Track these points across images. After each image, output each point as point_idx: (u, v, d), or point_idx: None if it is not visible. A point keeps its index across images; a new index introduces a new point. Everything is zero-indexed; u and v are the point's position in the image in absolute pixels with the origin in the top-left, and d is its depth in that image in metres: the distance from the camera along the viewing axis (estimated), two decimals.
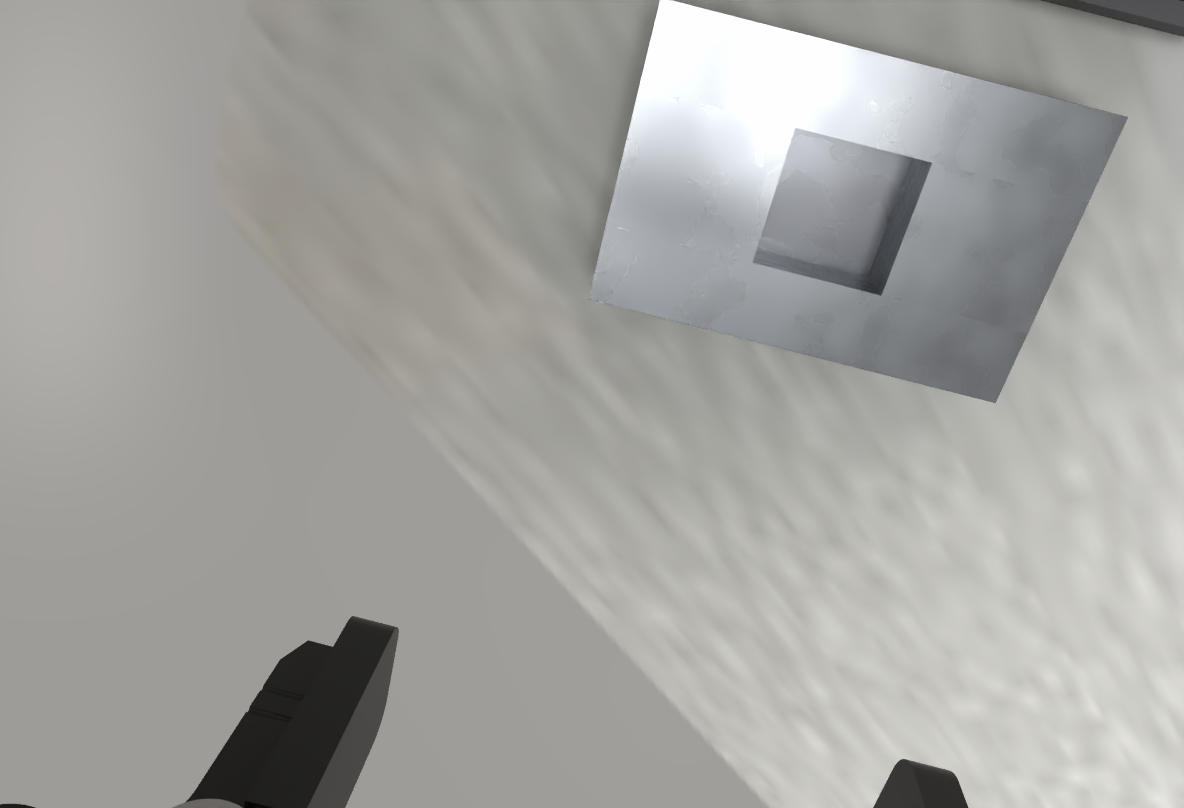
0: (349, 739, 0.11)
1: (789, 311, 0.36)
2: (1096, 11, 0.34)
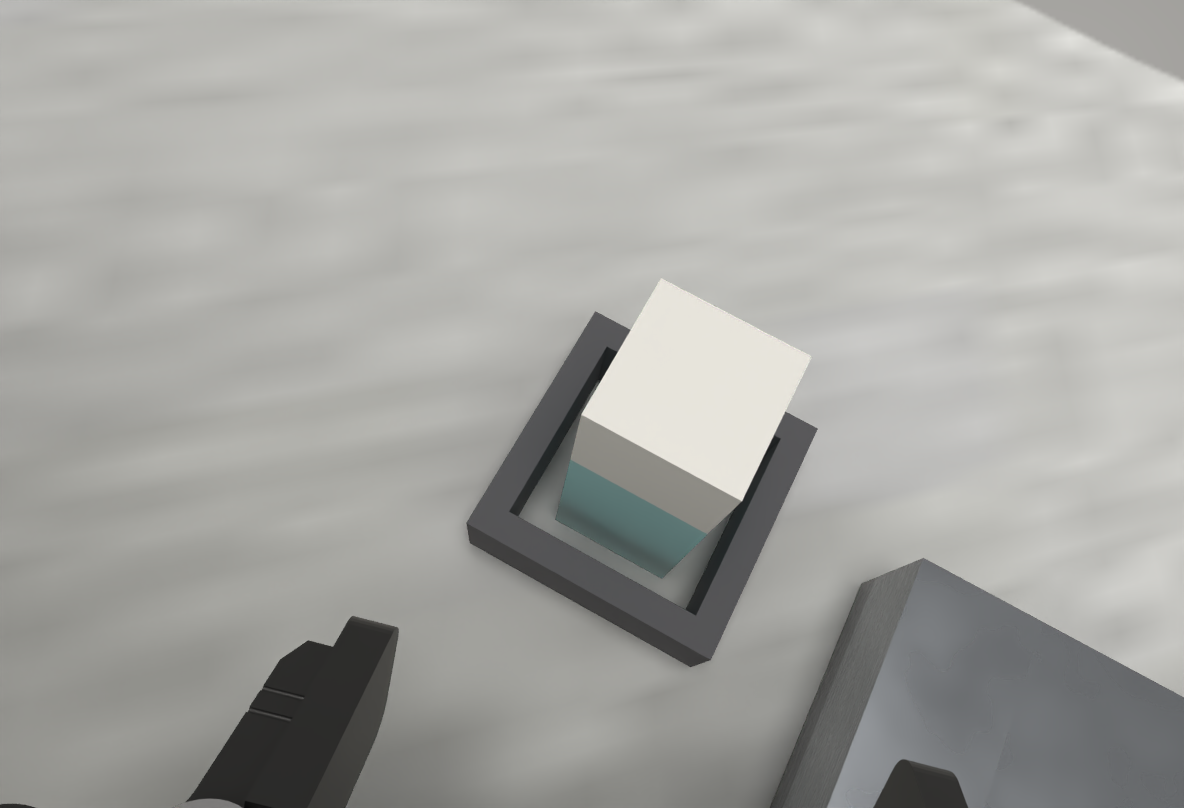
0: (349, 739, 0.11)
1: None
2: None
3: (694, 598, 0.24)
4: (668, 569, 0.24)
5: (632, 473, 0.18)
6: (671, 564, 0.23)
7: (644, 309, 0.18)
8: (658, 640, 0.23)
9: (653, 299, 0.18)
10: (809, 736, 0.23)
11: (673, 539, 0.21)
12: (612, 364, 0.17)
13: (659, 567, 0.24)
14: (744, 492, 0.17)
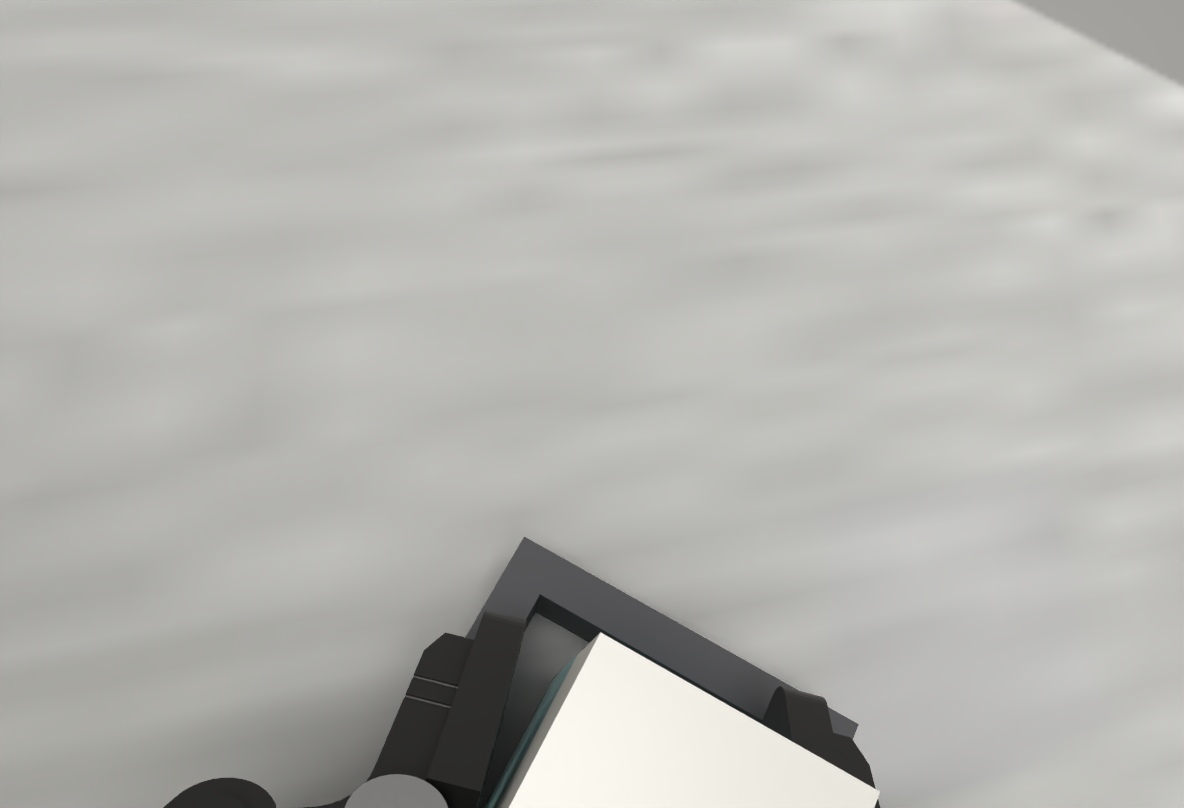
0: (498, 723, 0.12)
1: None
2: None
3: None
4: None
5: None
6: None
7: (567, 702, 0.10)
8: None
9: (585, 679, 0.10)
10: None
11: None
12: None
13: None
14: None
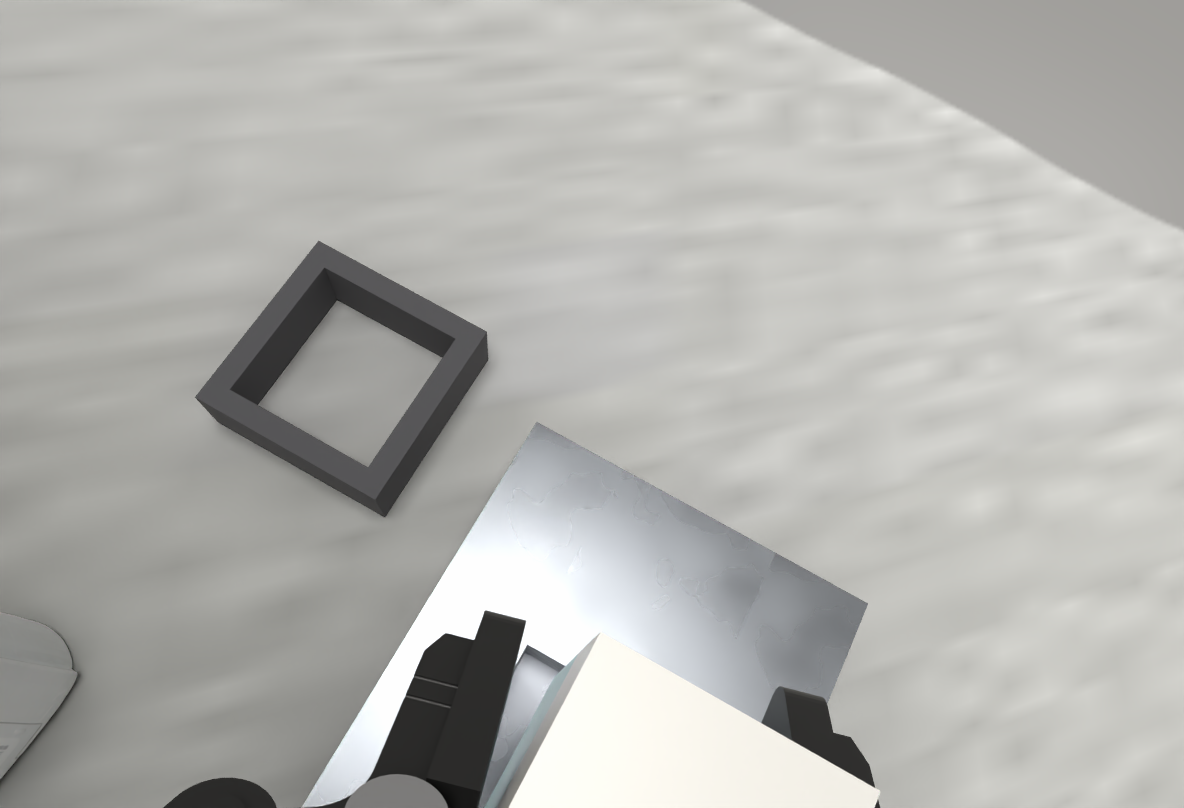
0: (498, 724, 0.12)
1: None
2: (430, 437, 0.31)
3: None
4: None
5: None
6: None
7: (567, 701, 0.09)
8: (349, 491, 0.30)
9: (585, 678, 0.10)
10: None
11: None
12: None
13: None
14: None
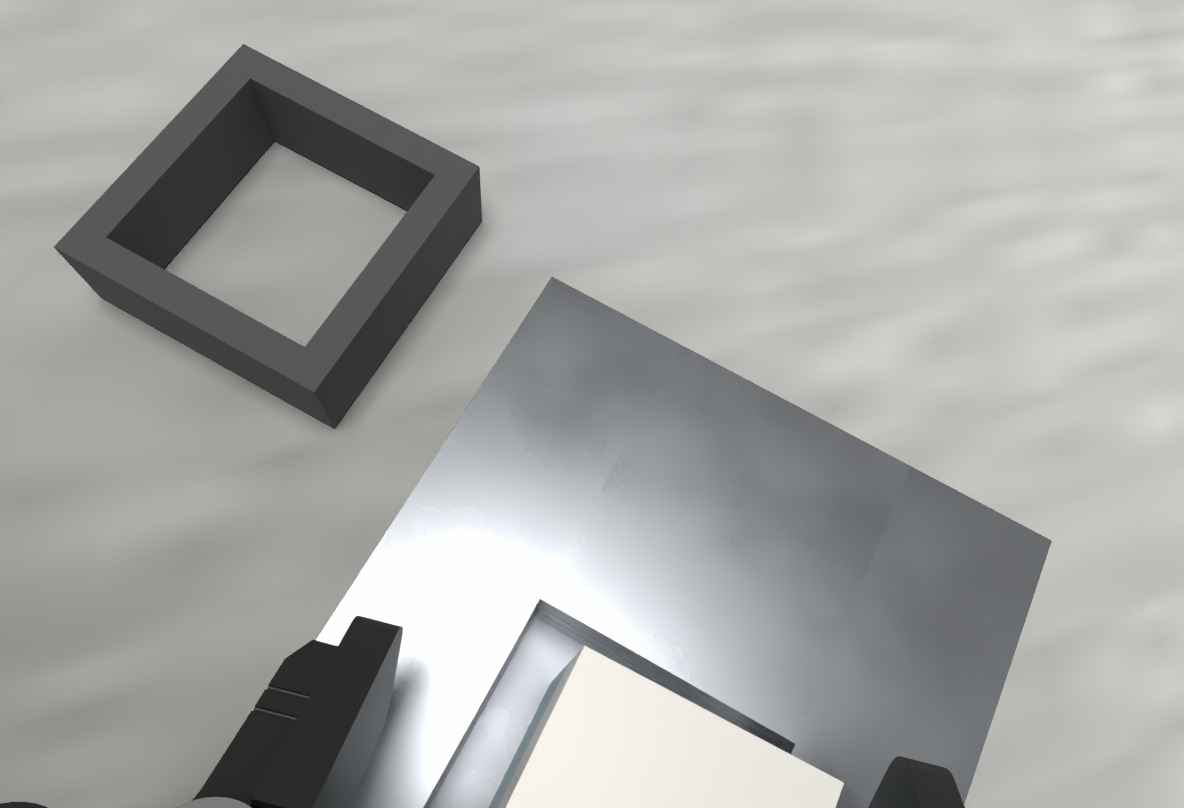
0: (354, 738, 0.11)
1: None
2: (400, 317, 0.22)
3: None
4: None
5: None
6: None
7: (555, 710, 0.10)
8: (281, 387, 0.21)
9: (571, 689, 0.10)
10: None
11: None
12: None
13: None
14: None
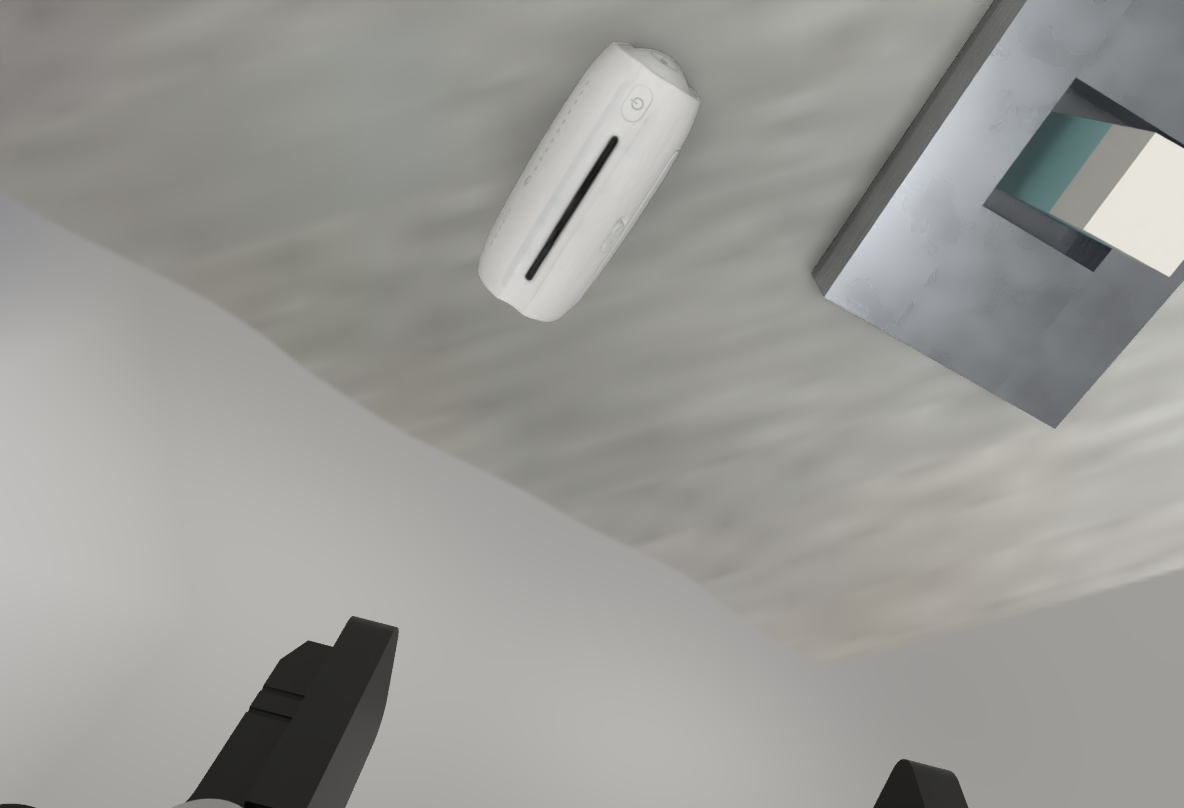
0: (349, 739, 0.11)
1: None
2: None
3: None
4: (1075, 230, 0.36)
5: (1095, 237, 0.31)
6: None
7: (1138, 156, 0.28)
8: None
9: (1146, 149, 0.28)
10: None
11: (1097, 240, 0.34)
12: (1109, 196, 0.29)
13: (1067, 226, 0.37)
14: (1172, 272, 0.29)
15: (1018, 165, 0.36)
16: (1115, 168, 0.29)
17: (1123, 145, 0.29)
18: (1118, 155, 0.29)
